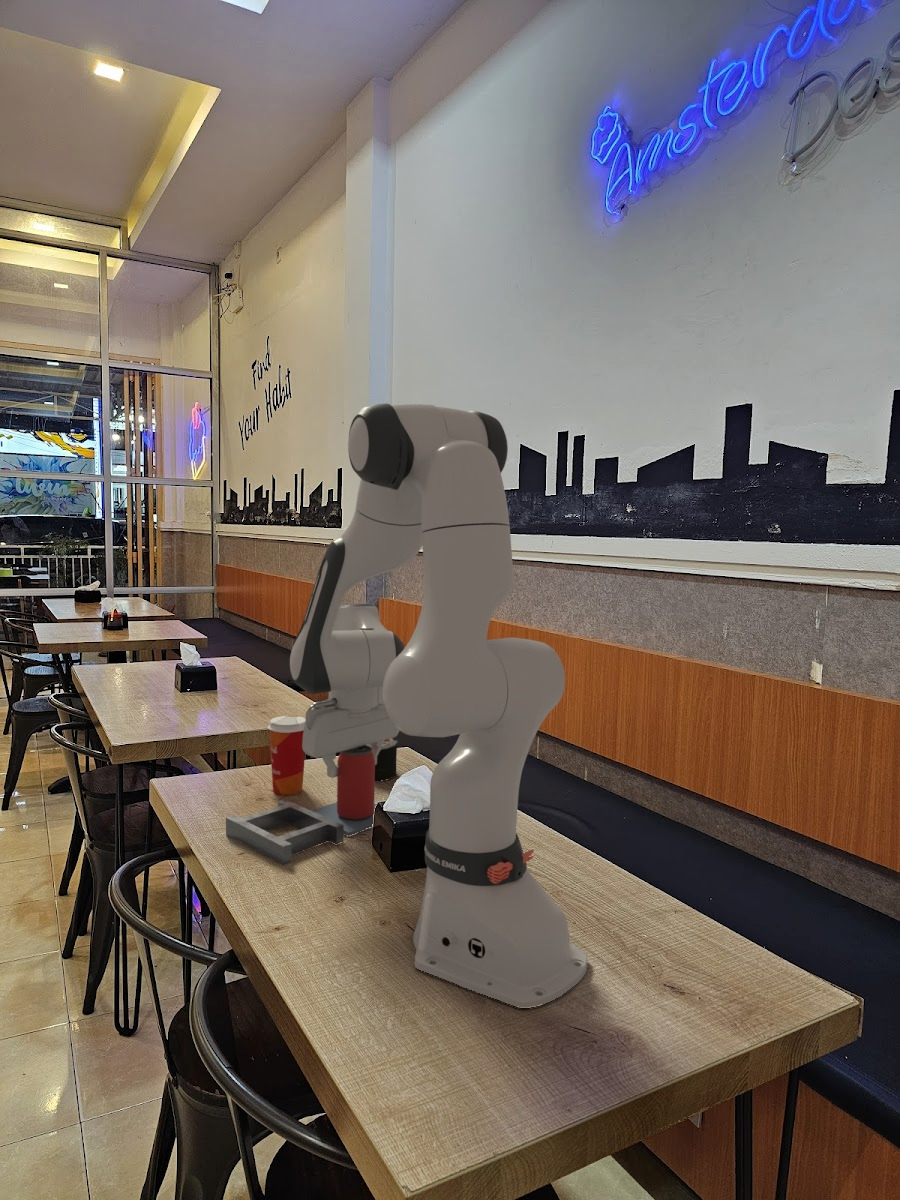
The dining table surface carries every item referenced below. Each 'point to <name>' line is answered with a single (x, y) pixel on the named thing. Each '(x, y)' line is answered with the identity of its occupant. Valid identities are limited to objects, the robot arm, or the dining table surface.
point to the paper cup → (287, 754)
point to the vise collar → (283, 847)
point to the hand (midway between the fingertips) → (352, 770)
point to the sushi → (386, 760)
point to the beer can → (356, 783)
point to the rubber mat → (349, 825)
